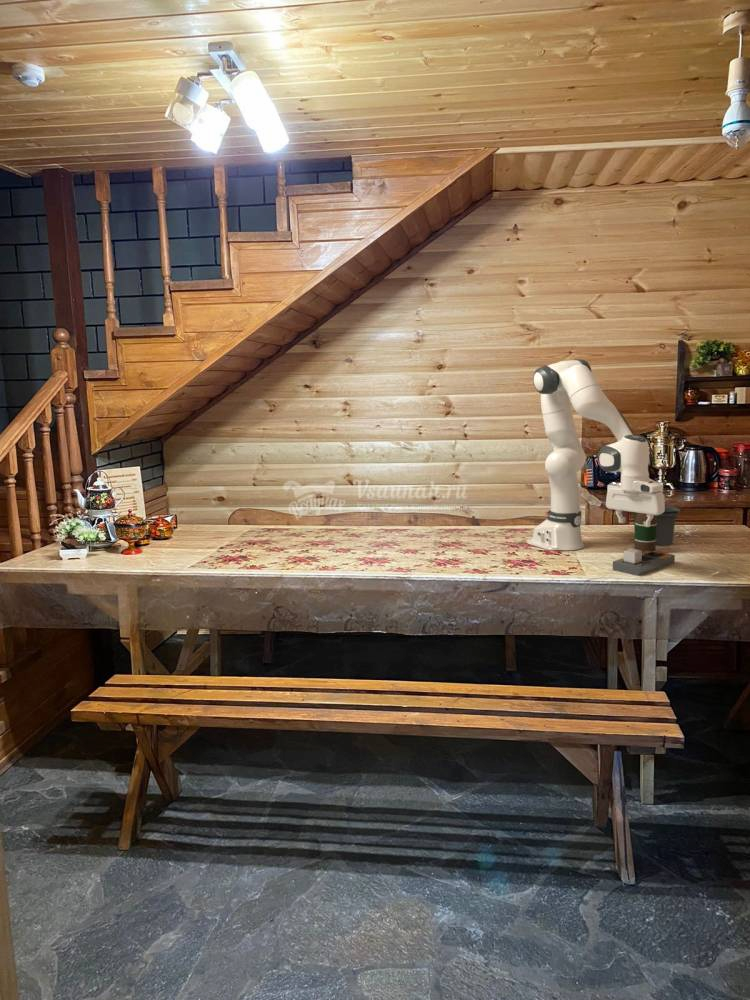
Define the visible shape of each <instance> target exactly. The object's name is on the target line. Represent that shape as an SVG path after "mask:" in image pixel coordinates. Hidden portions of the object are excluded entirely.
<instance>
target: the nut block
mask: <svg viewBox="0 0 750 1000" xmlns="http://www.w3.org/2000/svg"><path fill="white" fill-rule="evenodd" d="M623 558H624V563H627V564H632V565H637V564H640V563H642V551H641V550H636V549H634V548H629V549H625V550H623Z"/></svg>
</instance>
